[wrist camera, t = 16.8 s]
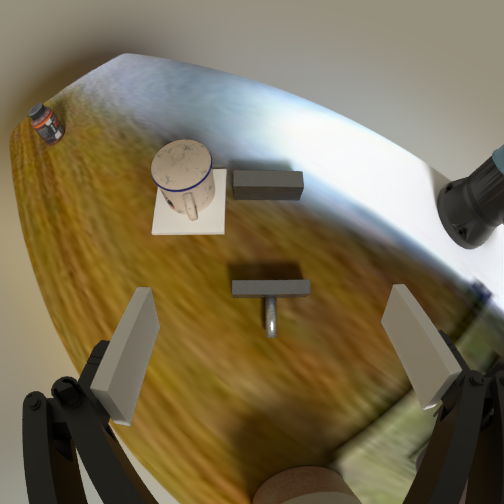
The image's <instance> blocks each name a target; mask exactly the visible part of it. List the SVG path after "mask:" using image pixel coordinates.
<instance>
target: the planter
mask: <svg viewBox="0 0 504 504" xmlns="http://www.w3.org/2000/svg"><path fill="white" fill-rule="evenodd" d="M252 504H362V503H361V502H360V501H359V499H358V498H357V497H356V496H355V494H354V493H353V492H352V490H351V489H350V488H349V487H348V485H347V484H346V483H345V481H344V480H343V479H342V477H341V476H340V475H338V474H337V473H336V472H334V471H332V470H330V469H327V468H324V467H318V466H303V467H296V468H292V469H288V470H285V471H283V472H280V473H278V474H276V475H274V476H273V477H271V478H269V479H268V480H267V481H265V482H264V483H263V484H262V485H261V486H260V487H259V489H258V490H257V491H256V493H255V495H254V498H253V502H252Z"/></svg>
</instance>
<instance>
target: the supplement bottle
mask: <svg viewBox="0 0 504 504" xmlns="http://www.w3.org/2000/svg"><path fill="white" fill-rule="evenodd" d="M29 115H30V117H31V118H32V120H31V124H32V126H33V128H34V129H35V130H36V131H37V133H38V134H39V135H40V136H41V138H42V139H43V140H44V141H45V143H46V144H47V145H53V144H55V143H57V142H58V141H59V140H60V139H61V138H62V136H63V135H64V128H63V126H62V124H61V123H60V122H59V120H58V119H57V117H56V116H55V114H54V113H53V111H52V110H51V108H49V107H44V105H43V104H42V103H38V104H37V105H35V106H34V107H33V108H32V109H31V111H30V113H29Z"/></svg>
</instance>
